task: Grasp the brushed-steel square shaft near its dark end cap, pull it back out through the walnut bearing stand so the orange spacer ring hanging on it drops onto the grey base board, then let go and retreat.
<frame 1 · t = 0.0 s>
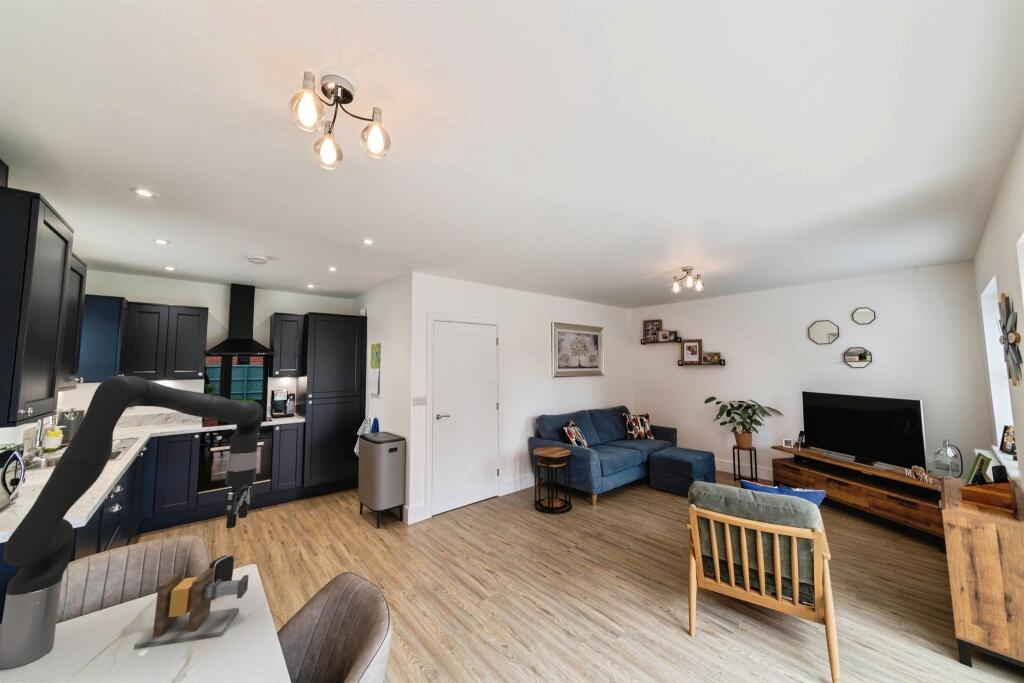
hand: (237, 522, 114), 29 cm above the table, fingers open, 8 cm apart
spacer: (184, 609, 110), point 6 cm above the table, touching shaft
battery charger: (218, 593, 128), on the table
bearing stand: (182, 630, 109), on the table
shaft: (204, 591, 111), point 10 cm above the table, slide at 0.0 cm, touching spacer
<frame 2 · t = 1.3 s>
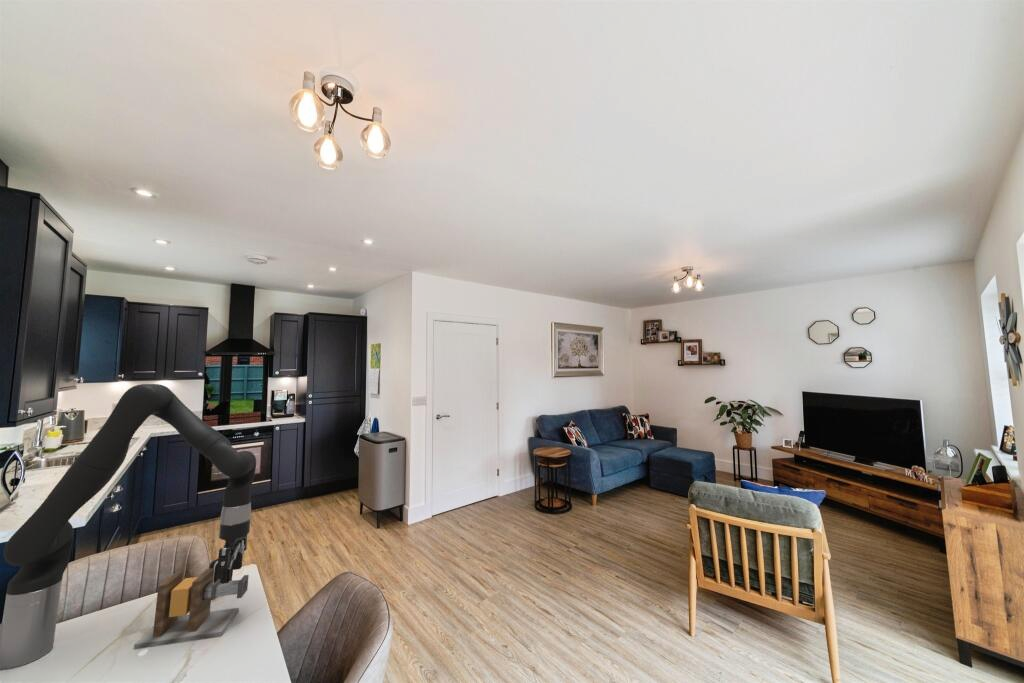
hand: (231, 575, 114), 13 cm above the table, fingers open, 8 cm apart
nothing on the table moved.
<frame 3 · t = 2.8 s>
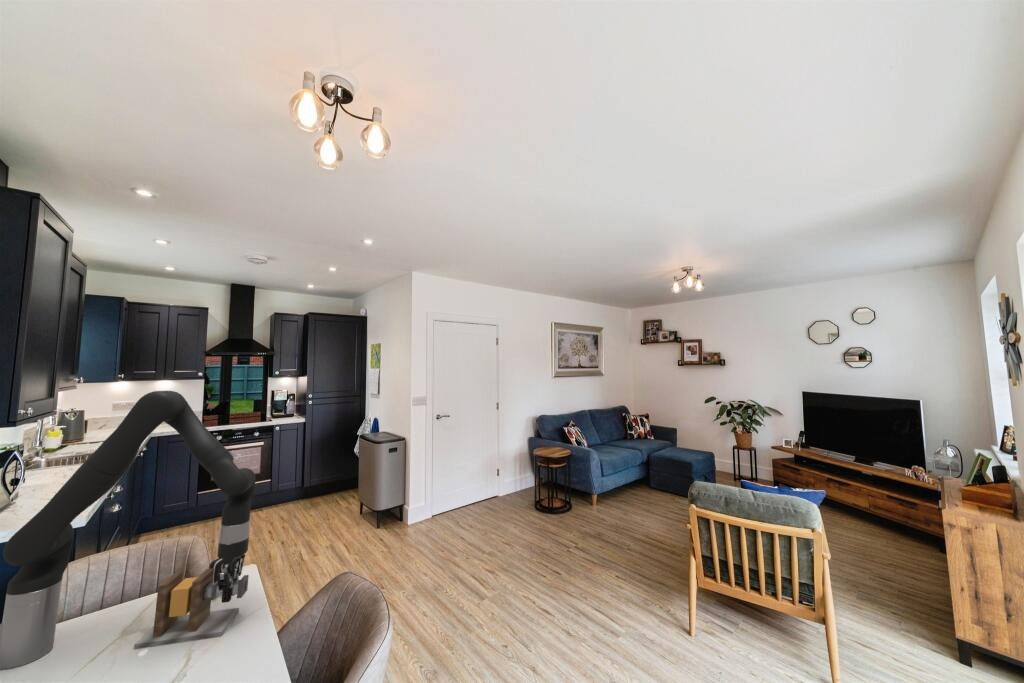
hand: (228, 598, 113), 7 cm above the table, fingers closed on shaft, 3 cm apart
shaft: (204, 591, 111), point 10 cm above the table, slide at 0.0 cm, touching gripper, spacer
everything else where it was.
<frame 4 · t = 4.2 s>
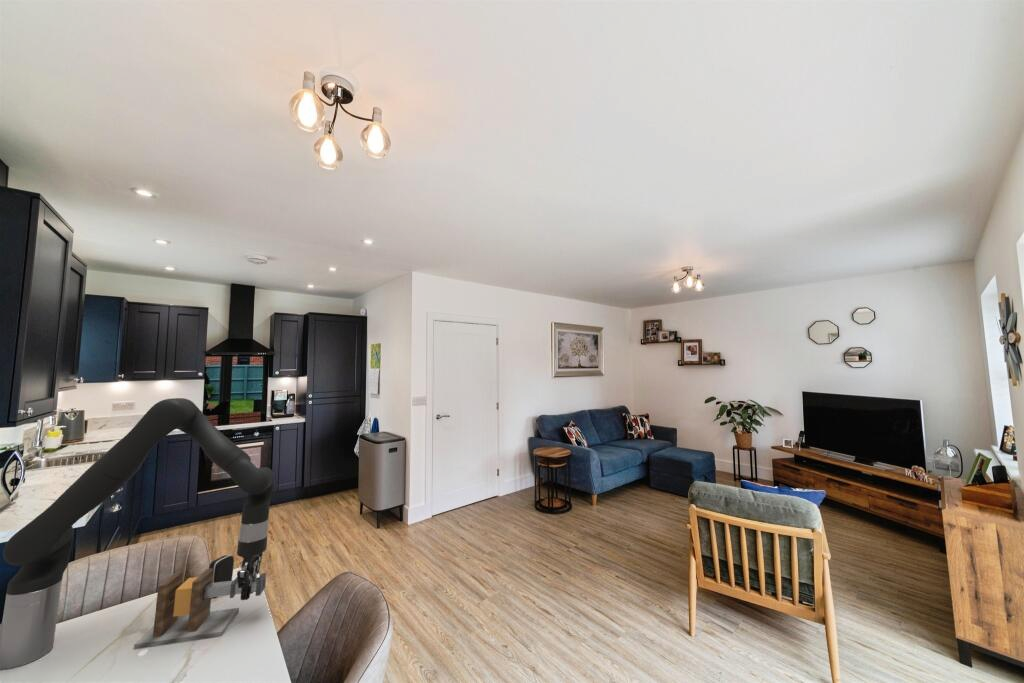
hand: (247, 595, 114), 7 cm above the table, fingers closed on shaft, 3 cm apart
spacer: (188, 608, 110), point 6 cm above the table, touching bearing stand
shaft: (223, 588, 113), point 10 cm above the table, slide at 4.8 cm, touching gripper
everything else where it was.
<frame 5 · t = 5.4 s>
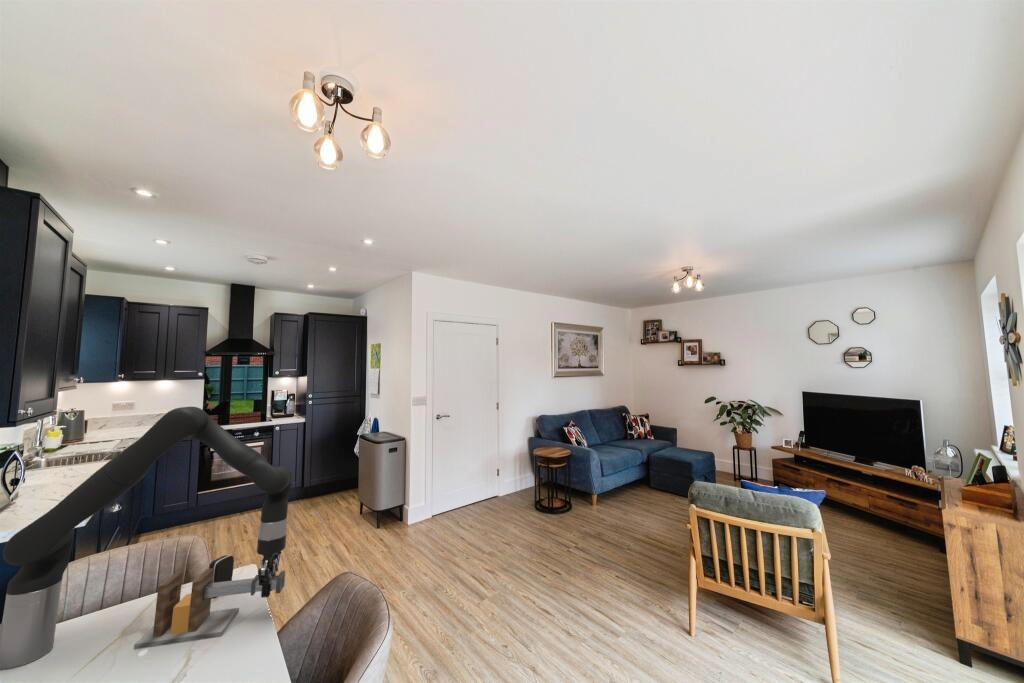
hand: (267, 593, 116), 7 cm above the table, fingers closed on shaft, 3 cm apart
spacer: (185, 625, 109), point 1 cm above the table, touching bearing stand
shaft: (243, 586, 114), point 10 cm above the table, slide at 10.1 cm, touching gripper
everything else where it was.
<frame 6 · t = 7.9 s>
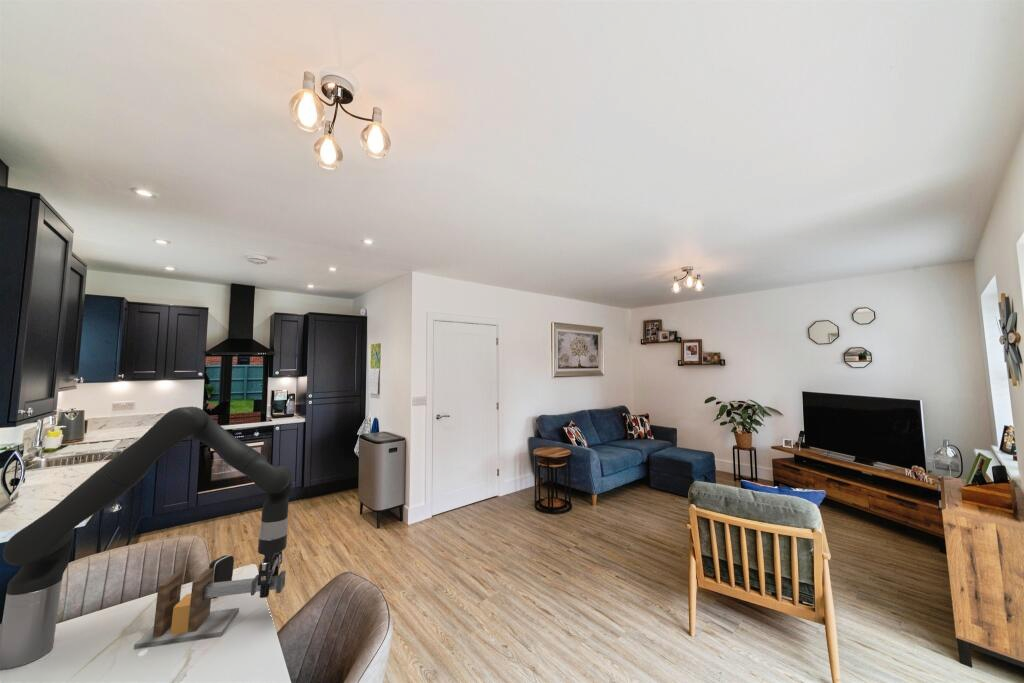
hand: (269, 589, 116), 8 cm above the table, fingers open, 8 cm apart
shaft: (244, 586, 114), point 10 cm above the table, slide at 10.2 cm
everything else where it was.
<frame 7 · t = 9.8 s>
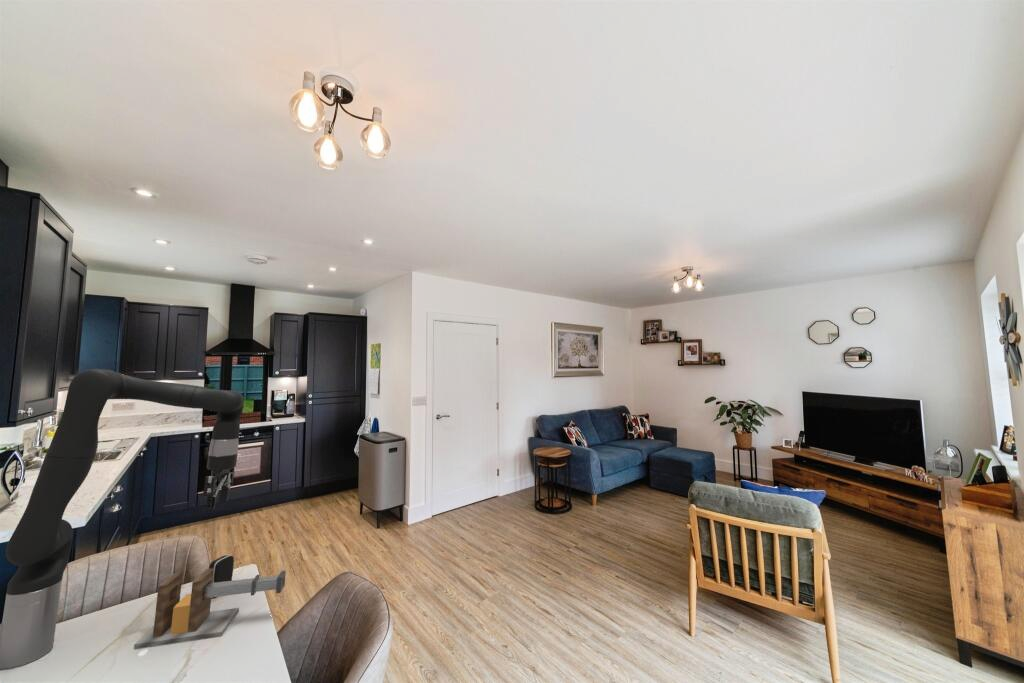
hand: (216, 505, 120), 32 cm above the table, fingers open, 8 cm apart
nothing on the table moved.
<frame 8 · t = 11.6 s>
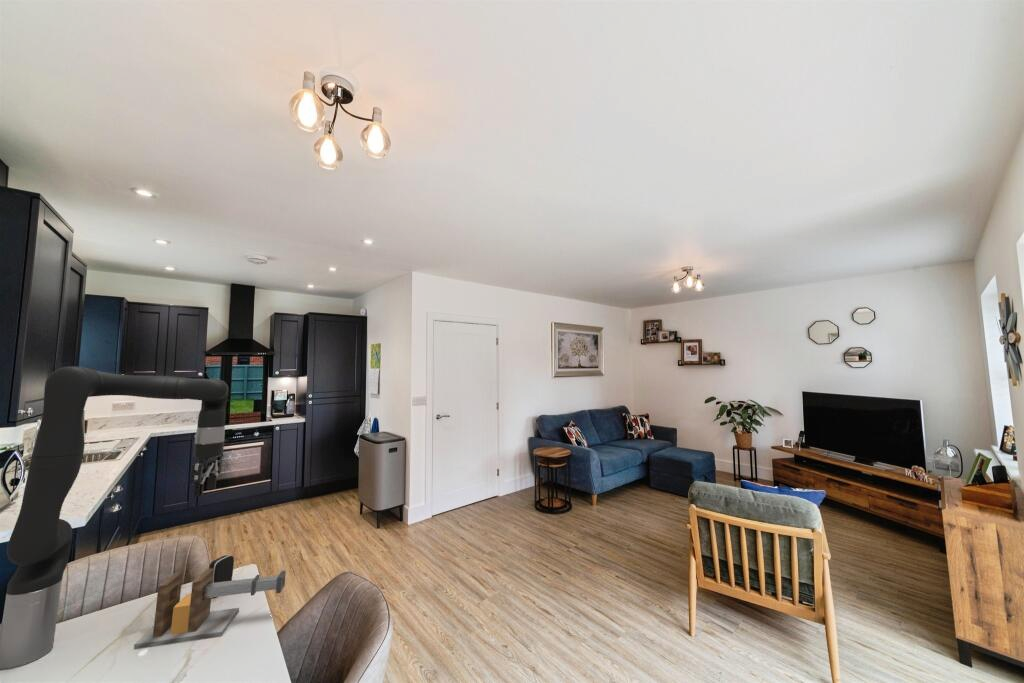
hand: (204, 492, 120), 36 cm above the table, fingers open, 8 cm apart
nothing on the table moved.
at the end: shaft slide at 10.2 cm; spacer point 1.2 cm above the table; spacer touching bearing stand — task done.
